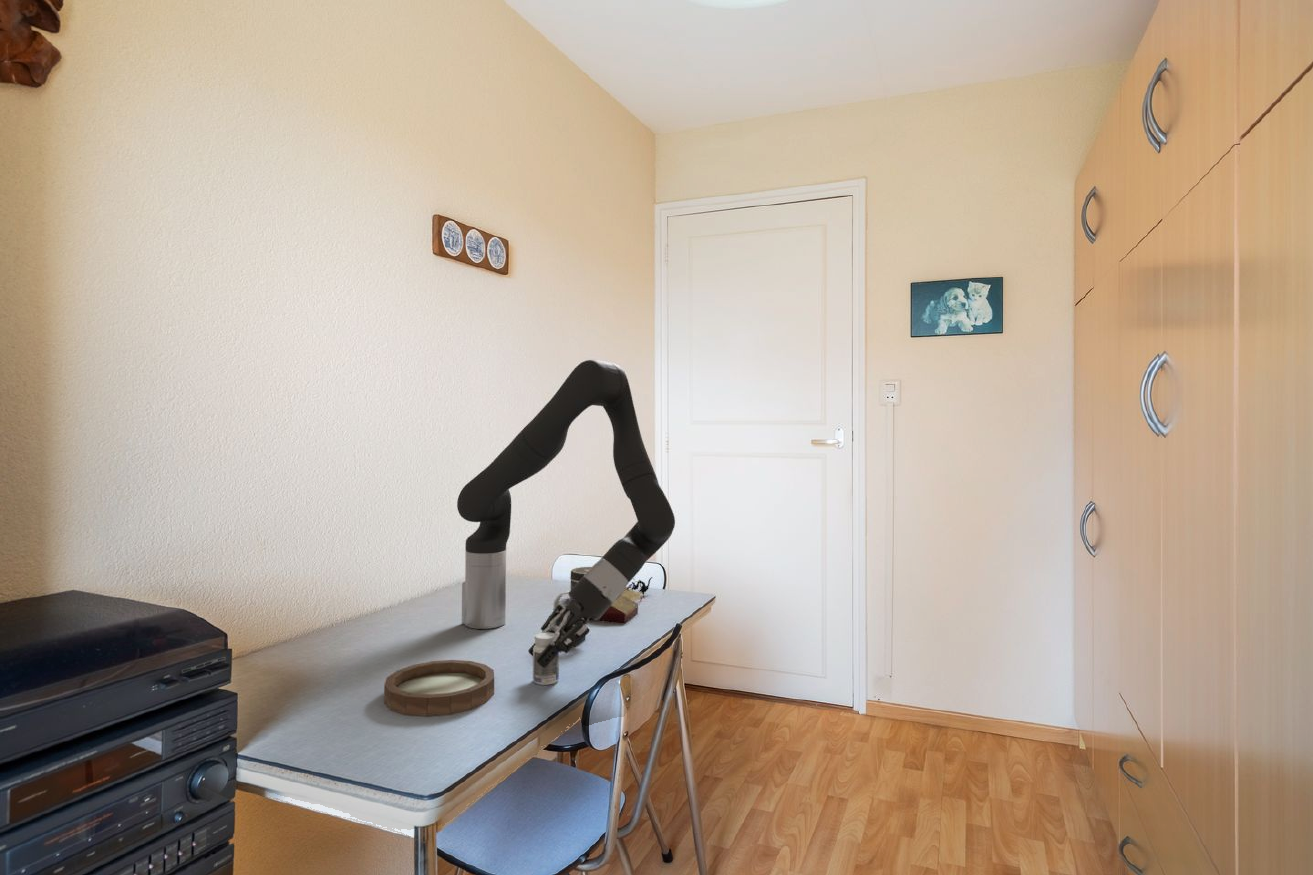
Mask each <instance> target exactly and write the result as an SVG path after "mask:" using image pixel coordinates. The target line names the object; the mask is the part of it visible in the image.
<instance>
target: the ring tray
mask: <svg viewBox="0 0 1313 875" xmlns="http://www.w3.org/2000/svg"><path fill="white" fill-rule="evenodd" d="M383 693H384V694H383V695H384V696H383V699H384V705H386V707H388V709H389V710H391V711H393V712H396V713H400V714H403V715H405V714H408V715H407V716H416V715H419V716H418V717H435V715H437V716H445V715H453V714H454V715H455V714H457V713H461V712H465V711H470V710H473V709H475V708H477V707H479V706H481V705H484V704H486V703H487V702H488V701H490V700H491V698H493V697H494V695H495V672H494V669H493V668H491V667H490V666H488V665H487V664H486V663H485V664H484V663H480V662H477V661H473V660H463V659H448V660H447V659H446V660H445V659H444V660H443V659H442V660H431V661H426V662H421V663H417V664H416V663H415V664H412V665H410V666H406V667H403V668H401V669H398V670H395V671H394V672H393V673H392V674H390V675H389V676H387V677H386V678H385V682H384V692H383ZM420 715H421V716H420Z"/></svg>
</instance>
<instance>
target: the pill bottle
mask: <svg viewBox="0 0 1313 875" xmlns="http://www.w3.org/2000/svg"><path fill="white" fill-rule="evenodd" d="M555 633H556V632H555ZM555 633H542V632H540V633H537V634H535V636H534V643H535V644H536V645H535V646H534V648H533V656H532V682H533V683H534V684H536V685H540V686H546V685H553V684H555V683H557V682H558V681H559V679H560V674H559V673H560V672H559V671H560V668H559V667H560V664H559V662H560V653H559V652H558V654H557V655H556V656H555V657H554V659H553V660H552V661H551V662H550V663H549V664H548V665H547V666H546V667H545V668H543V667H542V666H540V665H539V664H538V663H537V662H536V659H537V657H538V656H539V655H540V654H541V653H542V652H543V651H544V649H545V648H546V647H547V646H548V645H549V644H550V645H551V642H552V640H553V639H554V637H555V636H556V634H555Z"/></svg>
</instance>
